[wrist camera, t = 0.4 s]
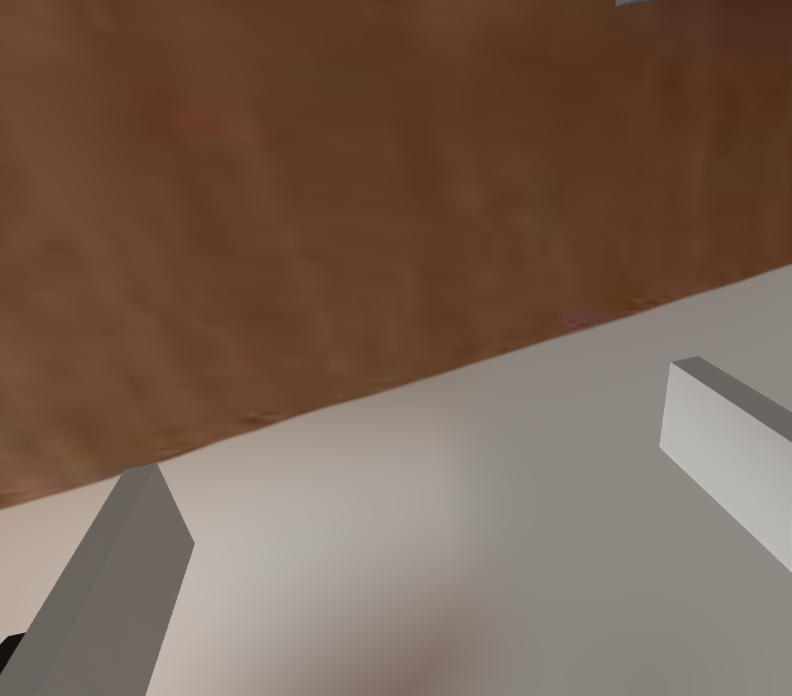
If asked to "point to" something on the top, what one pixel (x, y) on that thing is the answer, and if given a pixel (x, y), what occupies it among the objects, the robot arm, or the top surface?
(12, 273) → the top surface
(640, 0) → the switch board
